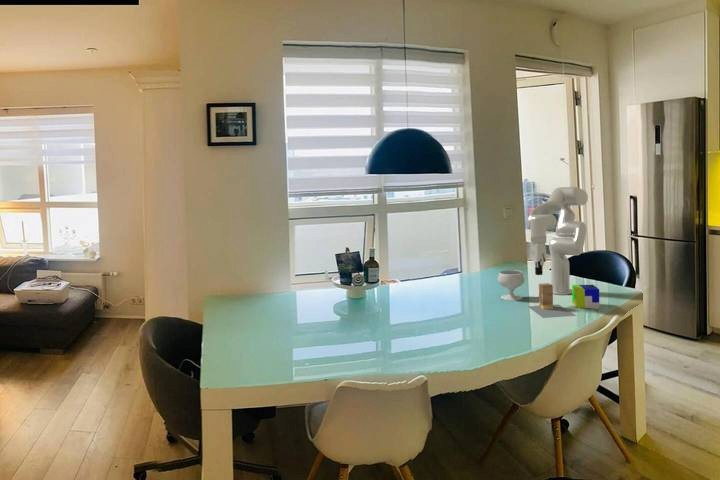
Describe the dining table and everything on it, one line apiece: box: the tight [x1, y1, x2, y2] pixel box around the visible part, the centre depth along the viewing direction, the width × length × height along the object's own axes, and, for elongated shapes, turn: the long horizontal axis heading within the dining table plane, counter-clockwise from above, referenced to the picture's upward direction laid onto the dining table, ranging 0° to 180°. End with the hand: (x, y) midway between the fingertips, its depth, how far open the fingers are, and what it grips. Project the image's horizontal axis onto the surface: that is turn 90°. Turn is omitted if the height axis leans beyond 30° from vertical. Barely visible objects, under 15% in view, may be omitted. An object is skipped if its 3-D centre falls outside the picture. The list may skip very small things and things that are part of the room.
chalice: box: [497, 269, 525, 301], centre depth 249 cm, size 14×14×15 cm
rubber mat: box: [527, 304, 577, 319], centre depth 221 cm, size 20×16×1 cm
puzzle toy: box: [571, 284, 600, 310], centre depth 226 cm, size 10×10×10 cm
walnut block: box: [538, 282, 554, 309], centre depth 226 cm, size 5×5×12 cm
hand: (538, 274), depth 233 cm, fingers closed
